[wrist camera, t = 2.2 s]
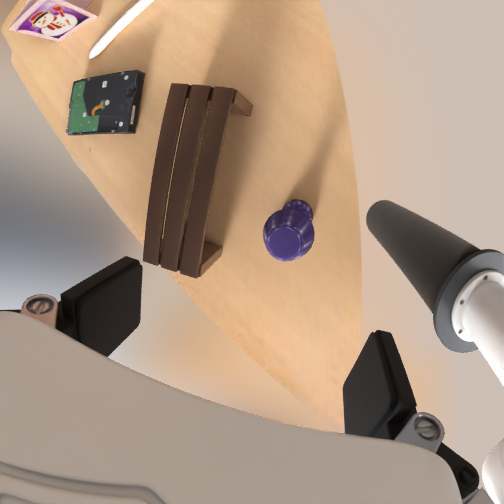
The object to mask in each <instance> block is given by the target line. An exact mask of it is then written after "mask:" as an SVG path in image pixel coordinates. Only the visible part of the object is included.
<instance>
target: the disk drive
mask: <svg viewBox="0 0 504 504" xmlns="http://www.w3.org/2000/svg"><path fill="white" fill-rule="evenodd" d="M144 76H145V73H143V72H141V71H138V70H133V71H125V72H119V73H113V74H107V75H102V76H97V77H91V78H87V79H81V80H78V81H74V83H73V88H72V94H71V100H70V104H69V109H70V111H69V117H68V126H67V128H68V129H66V133H68V135H89V134H132V133H133V134H135V133H136V125H137V120H138V113H139V106H140V100H141V94H142V88H143V83H144Z"/></svg>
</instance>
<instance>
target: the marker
mask: <svg viewBox="0 0 504 504" xmlns="http://www.w3.org/2000/svg"><path fill="white" fill-rule="evenodd" d="M153 1H154V0H139V1H138V2H137V3H136V4H135V5H134V6H132V7H131V8H130V9H129V10H128V11H127V12H126V13H125V14H124V15H123V16H122V17H121V18H120V19H119V20H118V21H117V22H116V23H115V24H114V25H113V26H112V27H111V28H110V29H109V30H108V31H107V32H106V33H105V34H104V35H103V36H102V38H101V39H100V40H99V41H98V42H97V43H96V44H95V45H94V47H93V48H92V49H91V52H90V55H89V59H92V58H94V57H96V56H97V55H99V54H100V53H101V52H102V51H103V50H104V49H105V48H106V46H107V45H108V44H109V43H110V42H111V41H112V40H113V39H114V38H115V37H116V36H117V35H118V34H119V33H120V32H121V31H122V30H123V29H124V28H125V27H126V26H127V25H128V24H129V23H130V22H131V21H132V20H133V19H134V18H135V17H136V16H137V15H138V14H139V13H141V12H142V11H143V10H144V9H145V8H146V7H147V6H148V5H150V4H151V3H152V2H153Z"/></svg>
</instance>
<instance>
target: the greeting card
mask: <svg viewBox="0 0 504 504" xmlns="http://www.w3.org/2000/svg"><path fill="white" fill-rule="evenodd" d="M91 2H92V0H27V2H26V3H25V4H24V6H23V7H22V9H21V10H20V12H19V13H18V15H17V16H16V18H15V19H14V21H13V23H12V24H11V26H10V27H9V29H8V30H13V31H17V32H22V33H26V34H30V35H34V36H38V37H42V38H45V39H49V40H53V41H56V42H61V41H62V40H64V39H65V38H66V37H68V36H69V35H71V34H72V33H74V32H75V31H77V30H78V29H80V28H81V27H83V26H84V25H86V24H87V23H89V22H90V21H92V20H94V19H95V18H97V17H98V16H96V15H94V14H92V13H90V12H88V11H86V10H85V9H86V7H87V6H88V5H89V4H90V3H91Z"/></svg>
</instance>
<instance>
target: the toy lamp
mask: <svg viewBox="0 0 504 504" xmlns="http://www.w3.org/2000/svg"><path fill="white" fill-rule="evenodd" d="M312 219H313V212H312V209H311V207H310V206H309V205H308V204H307V203H306V202H304V201H302V200H292V201H290V202H288V203H287V204H286V205H285V206H284V207H283V209H282V210H279V211H277V212H275V213H273V214H272V215H271V216H270V217H269V218H268V220H267V221H266V223H265V226H264V230H263V238H264V242H265V245H266V248H267V250H268V252H269V253H270V254H271V255H272V256H273V257H274V258H276V259H278V260H281V261H291V260H294V259H297V258H299V257H301V256H303V255H305V254H306V253H307V252H308V251H309V249H310V248H311V246H312V244H313V241H314V228H313V225H312V223H311V222H312Z"/></svg>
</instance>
